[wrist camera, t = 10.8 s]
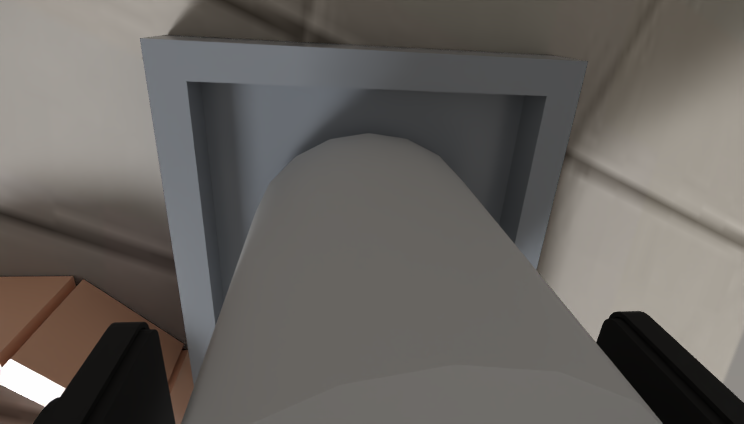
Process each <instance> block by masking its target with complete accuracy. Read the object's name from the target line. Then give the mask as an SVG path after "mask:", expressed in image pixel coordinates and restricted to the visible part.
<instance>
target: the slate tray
mask: <svg viewBox="0 0 744 424" xmlns="http://www.w3.org/2000/svg"><path fill="white" fill-rule="evenodd" d="M140 42H141V49H142V55H143V62H144V68H145V75H146V81H147V88H148V94H149V100H150V107H151V113H152V120H153V126H154V133H155V139H156V146H157V152H158V158H159V165H160V171H161V178H162V184H163V191H164V197H165V204H166V210H167V216H168V223H169V229H170V236H171V242H172V249H173V255H174V262H175V268H176V274H177V281H178V287H179V294H180V300H181V307H182V313H183V320H184V326H185V332H186V339H187V345H188V352H189V358H190V365H191V371H192V378H193V384H194V385H195V382H196V380H197V377H198V374H199V371H200V368H201V365H202V363H203V360H204V357H205V354H206V351H207V348H208V346H209V343H210V340H211V337H212V334H213V331H214V329H215V326H216V323H217V320H218V317H219V314H220V312H221V309H222V306H223V303H224V300H225V297H226V295H227V292H228V289H229V286H230V283H231V280H232V278H233V275H234V272H235V269H236V266H237V263H238V261H239V258H240V255H241V252H242V249H243V246H244V243H245V241H246V238H247V235H248V232H249V229H250V226H251V224H252V221H253V218H254V215H255V213H256V211H257V208H258V206H259V204H260V202H261V200H262V198H263V196H264V194H265V191H266V189H267V187H268V185H269V183H270V182H271V181H272V180H273V179H274V178H275V177H276V176H277V175H278V174H279V173H280V172H281V171H282V170H283V169H284V168H285V167H286V166H287V165H288V164H289V163H290V162H291V161H292V160H293V159H294V158H295V157H296V156H298V155H300V154H302V153H304V152H306V151H308V150H310V149H311V148H313V147H315V146H317V145H319V144H321V143H323V142H325V141H327V140H329V139H334V138H340V137H347V136H353V135H359V134H366V133H372V134H379V135H385V136H392V137H398V138H404V139H408V140H410V141H412V142H414V143H416V144H418V145H420V146H421V147H423V148H425V149H427V150H429V151H431V152H433V153H435V154H437V155H439V156H440V157H441V158H442V159H443V160H444V161H445V163H446V164H447V165H448V166H449V167H450V168H451V169H452V170H453V171H454V172H455V173H456V174H457V175H458V177H459V178H460V179H461V180H462V181H463V182H464V183H465V185H466V186H467V187H468V188H469V189H470V191H471V192H472V193H473V194H474V195H475V197H476V198H477V199H478V200H479V201H480V203H481V204H482V205H483V206H484V208H485V209H486V210H487V211H488V212H489V214H490V215H491V216H492V217H493V218H494V220H495V221H496V222H497V223H498V225H499V226H500V227H501V228H502V229H503V231H504V232H505V233H506V234H507V235H508V237H509V238H510V239H511V240H512V241H513V243H514V244H515V245H516V246H517V248H518V249H519V250H520V251H521V252H522V254H523V255H524V256H525V257H526V258H527V260H528V261H529V262H530V263H531V264H532V266H533V267H534V268H535V269H536V270H537V266H538V261H539V257H540V253H541V249H542V245H543V241H544V237H545V233H546V229H547V225H548V221H549V217H550V213H551V209H552V205H553V201H554V197H555V193H556V189H557V185H558V181H559V177H560V173H561V169H562V165H563V161H564V157H565V153H566V149H567V145H568V141H569V136H570V132H571V128H572V124H573V120H574V116H575V112H576V108H577V104H578V100H579V96H580V92H581V88H582V84H583V80H584V76H585V72H586V68H587V64H588V61H583V60H577V59H571V58H566V57H560V56H554V55H536V54H517V53H498V52H479V51H460V50H441V49H423V48H404V47H385V46H366V45H347V44H328V43H309V42H290V41H271V40H252V39H233V38H214V37H195V36H176V35H162V36H154V37H146V38H140Z"/></svg>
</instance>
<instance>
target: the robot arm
mask: <svg viewBox="0 0 744 424" xmlns="http://www.w3.org/2000/svg"><path fill="white" fill-rule="evenodd" d="M596 343H597V344H598V346H599V347H600V348H601V349H602V350H603V352H604V353H605V354H606V355H607V356H608V358H609V359H610V360H611V361H612V363H613V364H614V365H615V366H616V367H617V369H618V370H619V371H620V372H621V373H622V375H623V376H624V377H625V378H626V380H627V381H628V382H629V383H630V384H631V386H632V387H633V388H634V389H635V390H636V392H637V393H638V394H639V395H640V396H641V398H642V399H643V400H644V401H645V403H646V404H647V405H648V406H649V407H650V409H651V410H652V411H653V412H654V413H655V415H656V416H657V417H658V418H659V419H660V421H661V422H662V423H663V424H744V403H743V402H742V401H741V400H740V399H739V398H738V397H737V396H736V395H734V394H733V393H732V392H731V391H730V390H729V389H728V388H727V387H726V386H725V385H724V384H723V383H721V382H720V381H719V380H718V379H717V378H716V377H715V376H714V375H713V374H712V373H711V372H710V371H708V370H707V369H706V368H705V367H704V366H703V365H702V364H701V363H700V362H699V361H698V360H697V359H695V358H694V357H693V356H692V355H691V354H690V353H689V352H688V351H687V350H686V349H685V348H683V347H682V346H681V345H680V344H679V343H678V342H677V341H676V340H675V339H674V338H673V337H672V336H670V335H669V334H668V333H667V332H666V331H665V330H664V329H663V328H662V327H661V326H660V325H659V324H657V323H656V322H655V321H654V320H653V319H652V318H651V317H650V316H649V315H647V314H646V313H644V312H641V311H628V312H614V313H612V314H611V315H610V317H609V319H606V320H605V321H604V323H603V325H602V328H601V331H600V334H599V337H598V339H597V342H596ZM33 424H176V423H175V418H174V412H173V407H172V402H171V396H170V391H169V386H168V380H167V375H166V370H165V364H164V359H163V354H162V348H161V343H160V338H159V333H158V331H157V330H156V329H150V328H149V325H148V324H147V323H146V322H114V323H112V324H111V325H110V326H109V327H108V328H107V330H106V331H105V332H104V334H103V335H102V337H101V338H100V340H99V341H98V343H97V344H96V345H95V347H94V348H93V350H92V351H91V353H90V354H89V356H88V357H87V359H86V360H85V361H84V363H83V364H82V366H81V367H80V369H79V370H78V372H77V373H76V374H75V376H74V377H73V379H72V380H71V382H70V383H69V385H68V386H67V387H66V389H65V390H64V392H63V393H62V395H61V396H60V397H57V398H55V399H53V400H52V401H50V402H49V403H48V404H47V406H46V407H45V408H44V409H43V410H42V411H41V413H40V414H39V416H38V417H37V419H36V420H35V421H34V423H33Z"/></svg>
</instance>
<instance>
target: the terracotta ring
mask: <svg viewBox="0 0 744 424" xmlns="http://www.w3.org/2000/svg"><path fill="white" fill-rule="evenodd" d="M114 322H146V323H147V324H148V325H149V328H150V329H156V330H157V331H158V333H159V338H160V343H161V348H162V354H163V359H164V364H165V370H166V375H167V380H168V386H169V391H170V396H171V402H172V407H173V412H174V418H175V423H176V424H181V422H182V419H183V416H184V414H185V411H186V408H187V405H188V402H189V399H190V397H191V394H192V391H193V388H194V384H193V378H192V371H191V365H190V358H189V352H188V350H182V347H183V345H184V344H183V343H182V342H180V341H179V340H177V339H175V338H174V337H172V336H171V335H169V334H168V333H166V332H165V331H163V330H162V329H160V328H158V327H157V326H155V325H154V324H152V323H151V322H149V321H148V320H146V319H144V318H143V317H141V316H140V315H138V314H137V313H135V312H134V311H132V310H131V309H129V308H127V307H126V306H124V305H123V304H121V303H120V302H118V301H117V300H115V299H114V298H112V297H110V296H109V295H107V294H106V293H104V292H103V291H101V290H100V289H98V288H97V287H95V286H93V285H92V284H90V283H89V282H87V281H86V280H84V279H83V280H82V281H81V282H80V283H79V284H78V285H77V286H76V284H75V280H74V277H73V276H26V277H0V384H1V385H3V386H5V387H7V388H9V389H11V390H13V391H15V392H17V393H19V394H21V395H23V396H25V397H27V398H29V399H31V400H33V401H35V402H36V403H38V404H40V405H42V406H44V407H46V406H47V404H48V403H49V402H50V401H52V400H53V399H55V398H57V397H60V396H61V395H62V393H63V392H64V390H65V389H66V387H67V386H68V385H69V383H70V382H71V380H72V379H73V377H74V376H75V374H76V373H77V372H78V370H79V369H80V367H81V366H82V364H83V363H84V361H85V360H86V359H87V357H88V356H89V354H90V353H91V351H92V350H93V348H94V347H95V345H96V344H97V343H98V341H99V340H100V338H101V337H102V335H103V334H104V332H105V331H106V330H107V328H108V327H109V326H110V325H111V324H112V323H114Z"/></svg>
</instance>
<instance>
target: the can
mask: <svg viewBox="0 0 744 424" xmlns="http://www.w3.org/2000/svg"><path fill="white" fill-rule="evenodd" d="M181 424H663V423H662V422H661V421H660V419H659V418H658V417H657V416H656V415H655V413H654V412H653V411H652V410H651V409H650V407H649V406H648V405H647V404H646V403H645V401H644V400H643V399H642V398H641V396H640V395H639V394H638V393H637V392H636V390H635V389H634V388H633V387H632V386H631V384H630V383H629V382H628V381H627V380H626V378H625V377H624V376H623V375H622V373H621V372H620V371H619V370H618V369H617V367H616V366H615V365H614V364H613V363H612V361H611V360H610V359H609V358H608V356H607V355H606V354H605V353H604V352H603V350H602V349H601V348H600V347H599V346H598V344H597V343H596V342H595V341H594V340H593V338H592V337H591V336H590V335H589V333H588V332H587V331H586V330H585V329H584V327H583V326H582V325H581V324H580V323H579V321H578V320H577V319H576V318H575V317H574V315H573V314H572V313H571V312H570V310H569V309H568V308H567V307H566V306H565V304H564V303H563V302H562V301H561V300H560V298H559V297H558V296H557V295H556V294H555V292H554V291H553V290H552V289H551V287H550V286H549V285H548V284H547V283H546V281H545V280H544V279H543V278H542V277H541V275H540V274H539V273H538V272H537V271H536V269H535V268H534V267H533V266H532V264H531V263H530V262H529V261H528V260H527V258H526V257H525V256H524V255H523V254H522V252H521V251H520V250H519V249H518V248H517V246H516V245H515V244H514V243H513V241H512V240H511V239H510V238H509V237H508V235H507V234H506V233H505V232H504V231H503V229H502V228H501V227H500V226H499V225H498V223H497V222H496V221H495V220H494V218H493V217H492V216H491V215H490V214H489V212H488V211H487V210H486V209H485V208H484V206H483V205H482V204H481V203H480V201H479V200H478V199H477V198H476V197H475V195H474V194H473V193H472V192H471V191H470V189H469V188H468V187H467V186H466V185H465V183H464V182H463V181H462V180H461V179H460V178H459V177H458V175H457V174H456V173H455V172H454V171H453V170H452V169H451V168H450V167H449V166H448V165H447V164H446V163H445V161H444V160H443V159H442V158H441V157H440V156H439V155H437V154H435V153H433V152H431V151H429V150H427V149H425V148H423V147H421V146H420V145H418V144H416V143H414V142H412V141H410V140H408V139H404V138H398V137H392V136H385V135H379V134H372V133H366V134H359V135H353V136H347V137H340V138H334V139H329V140H327V141H325V142H323V143H321V144H319V145H317V146H315V147H313V148H311V149H310V150H308V151H306V152H304V153H302V154H300V155H298V156H296V157H295V158H294V159H293V160H292V161H291V162H290V163H289V164H288V165H287V166H286V167H285V168H284V169H283V170H282V171H281V172H280V173H279V174H278V175H277V176H276V177H275V178H274V179H273V180H272V181H271V182H270V183H269V185H268V187H267V189H266V191H265V194H264V196H263V198H262V200H261V202H260V204H259V206H258V208H257V211H256V213H255V215H254V218H253V221H252V224H251V226H250V229H249V232H248V235H247V238H246V241H245V243H244V246H243V249H242V252H241V255H240V258H239V261H238V263H237V266H236V269H235V272H234V275H233V278H232V280H231V283H230V286H229V289H228V292H227V295H226V297H225V300H224V303H223V306H222V309H221V312H220V314H219V317H218V320H217V323H216V326H215V329H214V331H213V334H212V337H211V340H210V343H209V346H208V348H207V351H206V354H205V357H204V360H203V363H202V365H201V368H200V371H199V374H198V377H197V380H196V382H195V385H194V388H193V391H192V394H191V397H190V399H189V402H188V405H187V408H186V411H185V414H184V416H183V419H182V422H181Z"/></svg>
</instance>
